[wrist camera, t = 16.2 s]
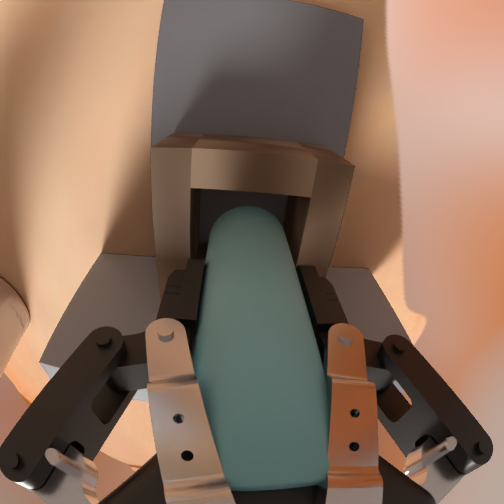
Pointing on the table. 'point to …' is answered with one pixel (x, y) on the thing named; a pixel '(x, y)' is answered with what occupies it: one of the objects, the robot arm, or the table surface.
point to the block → (246, 179)
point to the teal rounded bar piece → (259, 358)
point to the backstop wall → (148, 302)
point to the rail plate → (254, 81)
